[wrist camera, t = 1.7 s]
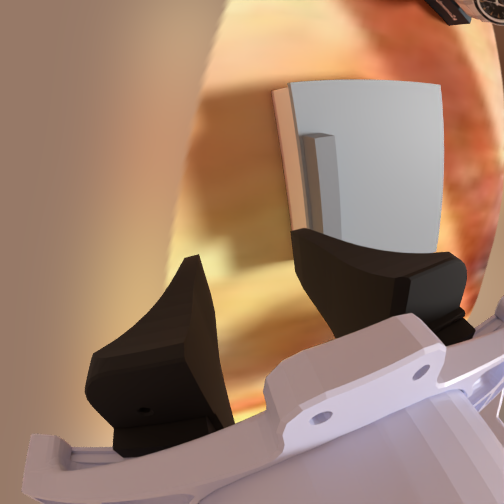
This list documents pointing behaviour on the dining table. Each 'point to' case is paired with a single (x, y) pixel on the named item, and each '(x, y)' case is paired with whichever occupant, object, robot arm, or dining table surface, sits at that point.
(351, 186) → the lid
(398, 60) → the dining table surface
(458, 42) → the dining table surface
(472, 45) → the dining table surface
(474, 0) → the watch
